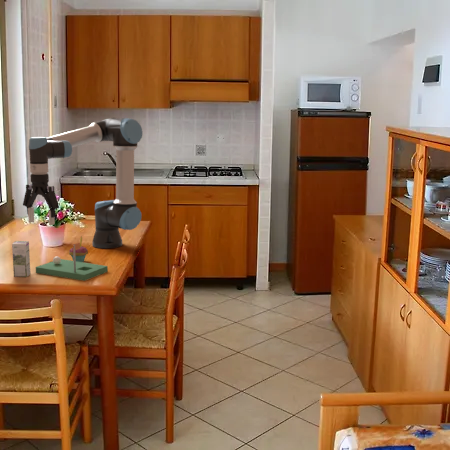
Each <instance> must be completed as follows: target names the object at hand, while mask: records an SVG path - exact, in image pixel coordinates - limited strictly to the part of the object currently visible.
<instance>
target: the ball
mask: <svg viewBox="0 0 450 450" xmlns="http://www.w3.org/2000/svg"><path fill="white" fill-rule="evenodd" d="M61 259H62V258H61V257H60V256H54V257H53V259H52V261H53V263H54V264H60V262H61Z"/></svg>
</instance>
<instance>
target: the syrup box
mask: <svg viewBox="0 0 450 450" xmlns="http://www.w3.org/2000/svg"><path fill="white" fill-rule="evenodd" d="M11 248H12V249H11V250H12V251H11V252H12V270H13V277H15V278H27V277H29V276H30V275H31V262H30V261H31V259H30V257H31V256H30V241H29V240H25V241H24V240H15V241H14V242H12V244H11Z"/></svg>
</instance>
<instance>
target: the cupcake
mask: <svg viewBox="0 0 450 450" xmlns="http://www.w3.org/2000/svg"><path fill="white" fill-rule="evenodd" d="M79 239H80V241H79V243H80V249H77V250H75V258H76V261H77V262H84V263H85V258H86V256H87V255H88V254H89V253H88V252H89V251H88V249H87V247H84V246H82V243H83V235H81V236H80V238H79ZM68 255H69V256H70V257H71V258H72V261H74V257H73V247H72V248H70V249H69V251H68Z"/></svg>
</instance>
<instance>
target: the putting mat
mask: <svg viewBox="0 0 450 450" xmlns="http://www.w3.org/2000/svg"><path fill="white" fill-rule="evenodd" d="M72 248H73V257H74V261H73V260H70V259H63V258H61V262H60V264H54V263H53V260H52V261H50V262H47V263H43V264H41V265H38V266H35V273H36V274H42V275H48V276H54V277H59V278H65V279H72V280H77V281H83V282H84V281H88V280H90V279H93V278H95V277H97V276H100V275H103V274H105V273H106V274H107V273H109V272H108V270H109V268H108V267H109V266H108V265H102V264H97V263H90V262H85V261H84V262H77V261H76V258H75V250H77V249H80V242H77V243H73V244H72Z"/></svg>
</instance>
